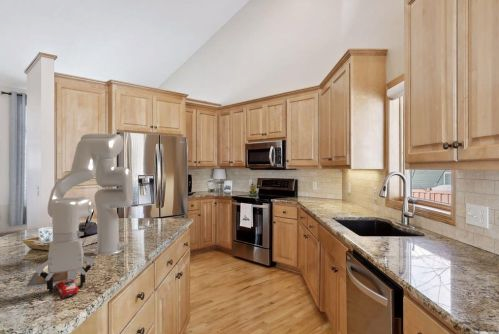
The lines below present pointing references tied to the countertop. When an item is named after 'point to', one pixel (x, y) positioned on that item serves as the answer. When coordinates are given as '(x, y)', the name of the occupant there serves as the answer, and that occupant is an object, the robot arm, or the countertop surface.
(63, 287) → the race car
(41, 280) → the tan flat block
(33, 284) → the gray board
